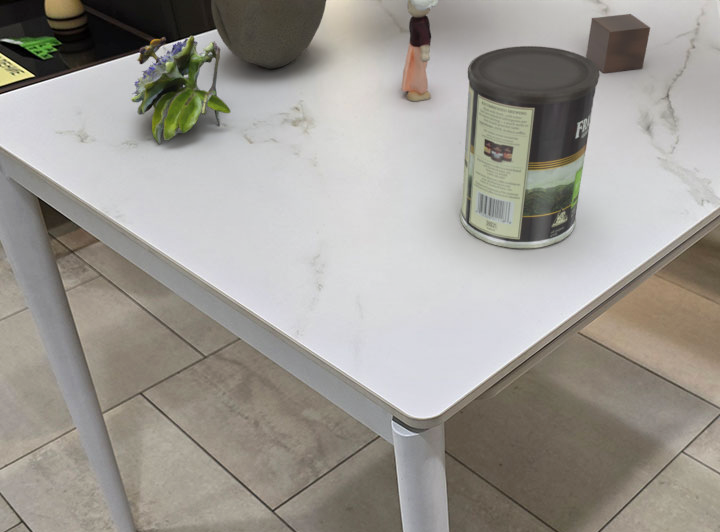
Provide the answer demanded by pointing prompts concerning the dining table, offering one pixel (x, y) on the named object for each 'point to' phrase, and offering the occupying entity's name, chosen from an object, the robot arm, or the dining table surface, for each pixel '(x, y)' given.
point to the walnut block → (617, 43)
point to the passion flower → (176, 87)
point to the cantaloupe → (267, 28)
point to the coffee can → (526, 144)
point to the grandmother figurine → (418, 50)
